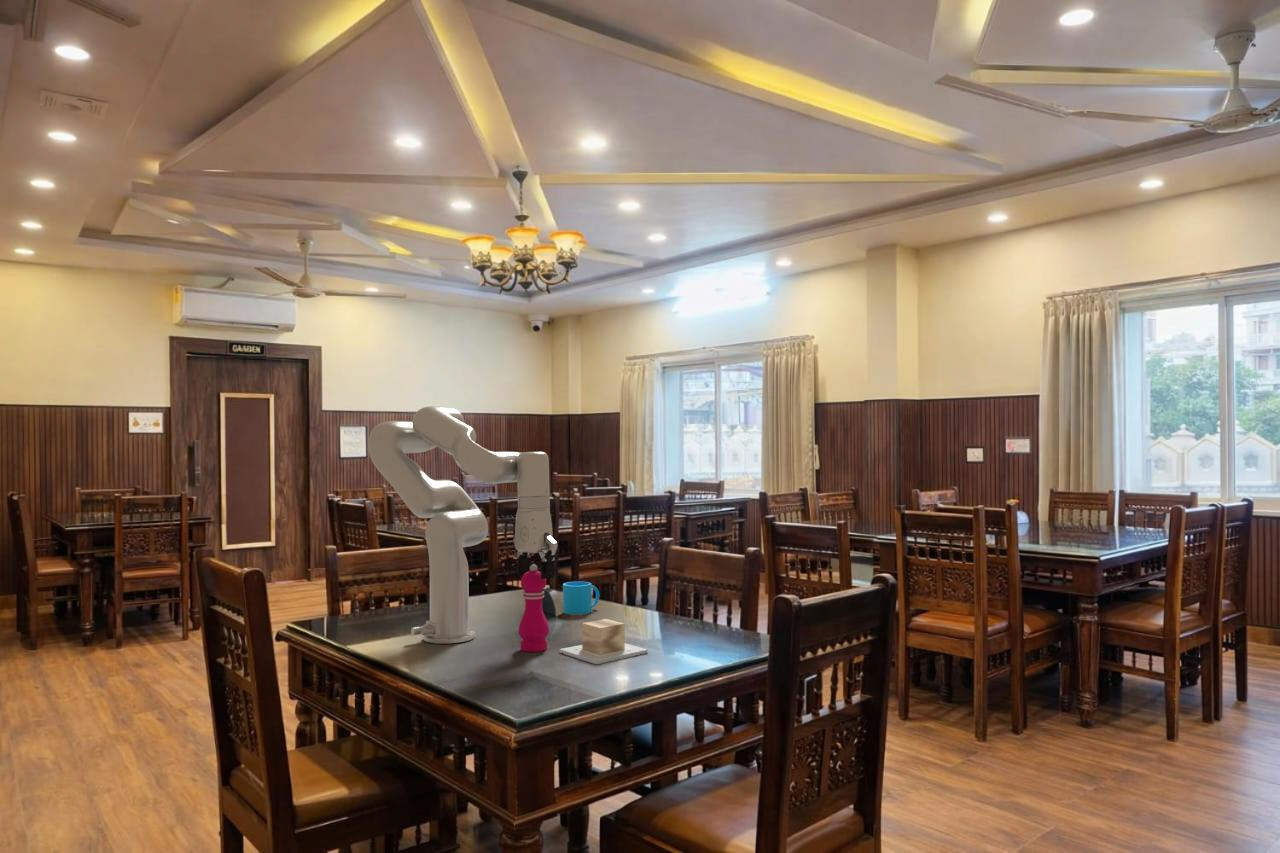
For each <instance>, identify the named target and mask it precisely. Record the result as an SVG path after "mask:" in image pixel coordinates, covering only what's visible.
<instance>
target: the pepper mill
mask: <svg viewBox="0 0 1280 853" xmlns="http://www.w3.org/2000/svg"><path fill="white" fill-rule="evenodd" d="M530 570H531V571H528V572H526V573H525V574H524V575H521V579H520V586H521V588H522V589H523V592H522V594H523V595H522V597H523V599H524V604H525V606H524V607H525V608H524V612H523V615H522V617H521V620H520V622H519V624H518V625H519V626H518V635H519V637H520V638H521V639H522V640H521V641H520V650H521V651H522V652H526V653H538V652H543V650H544V651H546V650H547V649H548V641H547V639H546V638H547V636H549V633H550V627H549V623H548V620H547V617H546V615H545V613H544V611H543V599H544V597H545V591H544V589H545V587H546V585H547V579H541V571H540V570H538V565H537V564H535V563H533V564H530Z"/></svg>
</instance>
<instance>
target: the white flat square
mask: <svg viewBox="0 0 1280 853" xmlns="http://www.w3.org/2000/svg"><path fill="white" fill-rule="evenodd" d="M559 653H560V654H562V653H563V655H566V656H569V657H571V658H575V659H578V660H580V661H584V662H587V663H590V664H593V665H600V664H604V663H609V661H610V662H613V661H618V659H619V660H623V659H627V658H632V657H636V655H637V656H641V655H646V654H649V649H647V648H644V647H639V646H637V645H633V644H629V643H626V642H625V650H621V651H616V652H611V653H607V654H602V655H600V654H597V653H593V652H590V651H587V650H584V649H582V644H579V645H574V646H569V647H564V648H559ZM645 653H646V654H645ZM640 654H641V655H640Z"/></svg>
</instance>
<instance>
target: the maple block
mask: <svg viewBox="0 0 1280 853" xmlns="http://www.w3.org/2000/svg"><path fill="white" fill-rule="evenodd" d="M625 624H626V623H624V622H619V621H615V620H612V619H608V618H603V619H598V620H593V621H592V620H591V621H587V622H582V623H581V625H582V626H581V630H582V631H581V634H582V636H581V640H582V641H581V645H582V649H584V650H587V651H590V652H593V653H597V654H600V655H602V654H607V653H611V652H616V651H621V650H625V643H626V642H625V636H626V635H625V634H626V633H625V630H626V628H625Z"/></svg>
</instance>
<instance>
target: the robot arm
mask: <svg viewBox="0 0 1280 853" xmlns="http://www.w3.org/2000/svg"><path fill="white" fill-rule="evenodd" d="M476 440H477V434H476V430H475V429H474V428H473V427H472V426H470V425H469V424H467V423H466V422H465V419H464V415H463V414H462V413H461V412H460V411H459V410H457V409H455V408H454V407H449V406H447V407H446V406H425V407H421V408H420V409H418V410H417V411H416V412H415V413H414V414H413V417H412V420H411V421H410V420H390V421H389V420H387V421H383V422H381V423H379V424H376V425H375V426H374V427H373V428H372V429H371V431H370V433H369V436H368V440H367V441H368V442H367V443H368V444H367V446H368V454H369V456H370V459H371V462H372V463H373V465H374V467H375V468H376V469H377V471H378V472H379V473H380V475H382V476H383V477H384V479H386V481H387V482H388V483H389V485H390V486H391V487H392V488H393V489H394V491H395V492H396V494H397V495H398V496H399V497H400V499H401V500H402V502H403V503H404V504H405V505H406V507H407V508H408V509H409V510H410V512H412V514H413V515H414V516H416V517H417V518H419V519H429V520H428V522H427V524H426V526H425V529H424V530H425V532H424V533H425V542H426V546H427V552H428V561H429V562H428V563H429V620H426V621H425V624H423V625H422V626H414V627H411V628H410V635H411V636H418V635H420V636H422V637H423V641H424V642H426V643H430V644H440V645H443V644H444V645H445V644H446V645H447V644H448V645H449V644H459V643H464V642H468V641H471V640H473V639H475V637H476V632H475V631H474V630H472V629H470V624H469V622H470V620H469V619H470V618H469V616H470V615H469V614H470V613H469V611H470V606H469V605H470V604H469V601H470V597H469V595H470V594H469V592H470V591H469V584H470V583H469V580H470V579H469V578H470V577H469V563H468V562H469V561H468V559H467V556H466V554H465V550H464V548H466V547H468V548H469V547H472V546H476V545H479V544H481V543H482V542H483V541H485V540H486V537H487V536H488V532H489V525H488V524H489V523H488V520H487V518H486V516H485V514H484V513H483V512H482V510H481V509H480V508H479V507H478V506H477V504H476V503H475V502H474V500H473V499H472V498H471V497H470V496H469V495H468V493H467V492H466V490H464V489H463V487H462V486H461V485H459V484H458V483H456V482H455V481H452V480H449V479H432V478H430V477H429V475H427V474H426V473H425V471H424V470H423V469H422V468H421V466H420V465H419V464H418V463H417V462H416V461H415V460H413V459H411V458H410V457H409V456H407V455H406V454H419V453H421V454H422V453H424V452H428V451H430V450H431V451H432V449H435V448H438V449H441V450H442V451H444V452H445V453H447V454H449V455H450V456H452V458H453V459H454V461H455V464H456V465H457V467H459V468H460V469H461V470H462V472H465V473H466V474H468V475H470V476H471V477H473V478H474V479H477V480H478V481H480V482H483V483H485V484H489V485H495V484H496V485H497V484H508V483H510V484H511V483H517V511H516V514H515V515H516V516H515V527H514V537H513V540H512V541H513V545H514V550H515V553H516V555H515V556H516V558H517V574H518V576H519V575H520V576H523V575H524V574H525V573H526V572H528V571H531V570H530V566H531V557H530V554H537V553H538V554H539V556H540V559H541V561H540V572H541V579H546V580H547V579H553V578H554V561H555V557H556V555H557V549H558V546H559V545H558V542H557V541H556V540H555V539H554V536H553V534H554V532H553V522H552V515H551V510H550V509H551V508H550V507H551V502H550V501H551V500H550V463H549V462H550V461H549V460H550V459H549V455H548V454H547V453H546V452H544V451H526V452H518V451H491V450H489V449H487V448H485V447H484V446H483V447H482V446H481V445H480V444H478V443H477V442H476ZM545 553H546V554H545Z"/></svg>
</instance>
